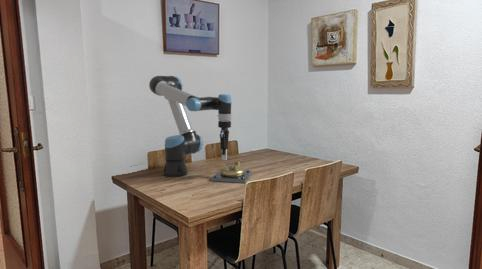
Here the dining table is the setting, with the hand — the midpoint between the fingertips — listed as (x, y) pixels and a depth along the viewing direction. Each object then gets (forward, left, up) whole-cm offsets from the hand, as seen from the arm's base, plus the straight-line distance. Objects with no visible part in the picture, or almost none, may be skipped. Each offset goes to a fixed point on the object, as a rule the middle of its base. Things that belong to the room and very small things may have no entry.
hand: (224, 159), depth 205 cm
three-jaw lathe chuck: (+6, -3, -8) cm, 10 cm away
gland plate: (+6, -3, -10) cm, 12 cm away
